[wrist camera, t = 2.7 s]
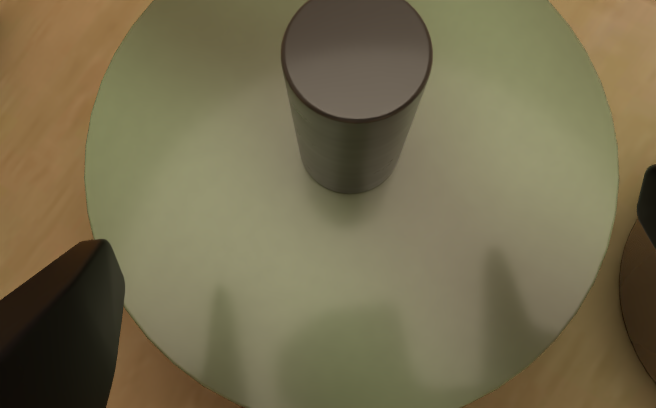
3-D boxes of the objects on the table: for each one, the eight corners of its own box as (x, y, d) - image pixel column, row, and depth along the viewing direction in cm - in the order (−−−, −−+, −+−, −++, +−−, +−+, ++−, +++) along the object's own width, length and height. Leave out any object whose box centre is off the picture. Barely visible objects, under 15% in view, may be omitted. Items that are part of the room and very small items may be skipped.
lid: (454, 534, 13) (554, 710, 7) (2, 247, 15) (-227, 192, 9) (676, 76, 16) (891, -82, 10) (268, -124, 17) (233, -366, 11)
